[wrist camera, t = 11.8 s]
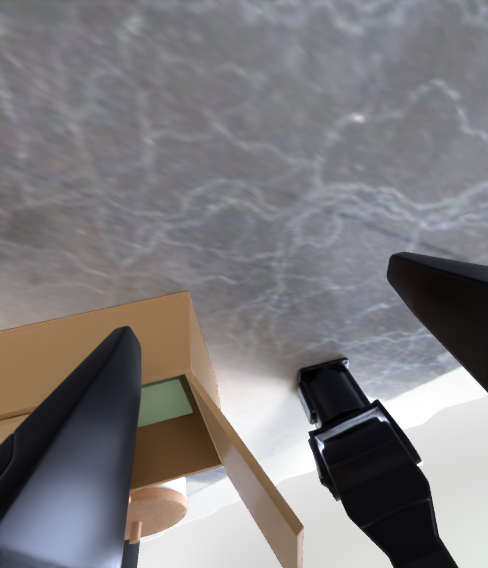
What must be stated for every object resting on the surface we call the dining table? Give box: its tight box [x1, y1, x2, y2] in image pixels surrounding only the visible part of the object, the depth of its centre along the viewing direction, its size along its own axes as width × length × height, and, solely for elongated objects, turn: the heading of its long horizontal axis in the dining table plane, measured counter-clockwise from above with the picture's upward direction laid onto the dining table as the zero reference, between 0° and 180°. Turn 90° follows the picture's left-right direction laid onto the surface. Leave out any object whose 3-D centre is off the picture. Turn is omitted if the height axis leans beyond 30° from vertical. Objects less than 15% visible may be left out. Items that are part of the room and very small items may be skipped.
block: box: [138, 374, 193, 427], centre depth 23 cm, size 5×5×5 cm
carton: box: [0, 291, 224, 504], centre depth 21 cm, size 17×14×9 cm
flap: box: [189, 376, 304, 568], centre depth 15 cm, size 8×14×1 cm
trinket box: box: [124, 477, 187, 544], centre depth 30 cm, size 11×11×9 cm
